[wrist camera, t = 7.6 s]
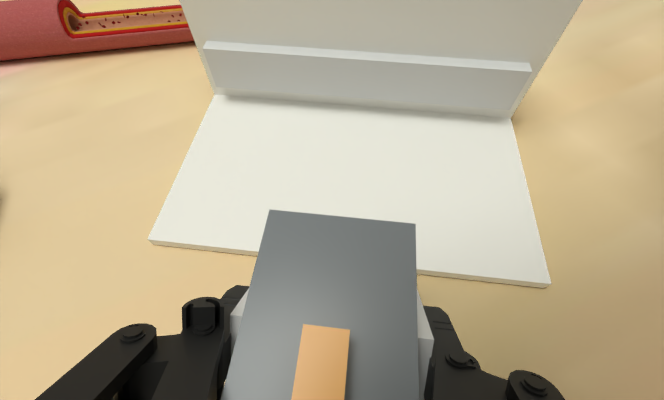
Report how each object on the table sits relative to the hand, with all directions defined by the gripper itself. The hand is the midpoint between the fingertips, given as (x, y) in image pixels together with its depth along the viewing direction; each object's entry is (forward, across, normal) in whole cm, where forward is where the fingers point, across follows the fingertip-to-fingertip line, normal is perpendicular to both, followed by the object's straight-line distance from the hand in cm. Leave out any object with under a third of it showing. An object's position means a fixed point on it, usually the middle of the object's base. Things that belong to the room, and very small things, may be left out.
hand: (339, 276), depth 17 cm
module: (0, 0, -5) cm, 5 cm away
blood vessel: (+21, -23, +15) cm, 35 cm away
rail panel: (+10, 0, +4) cm, 11 cm away
